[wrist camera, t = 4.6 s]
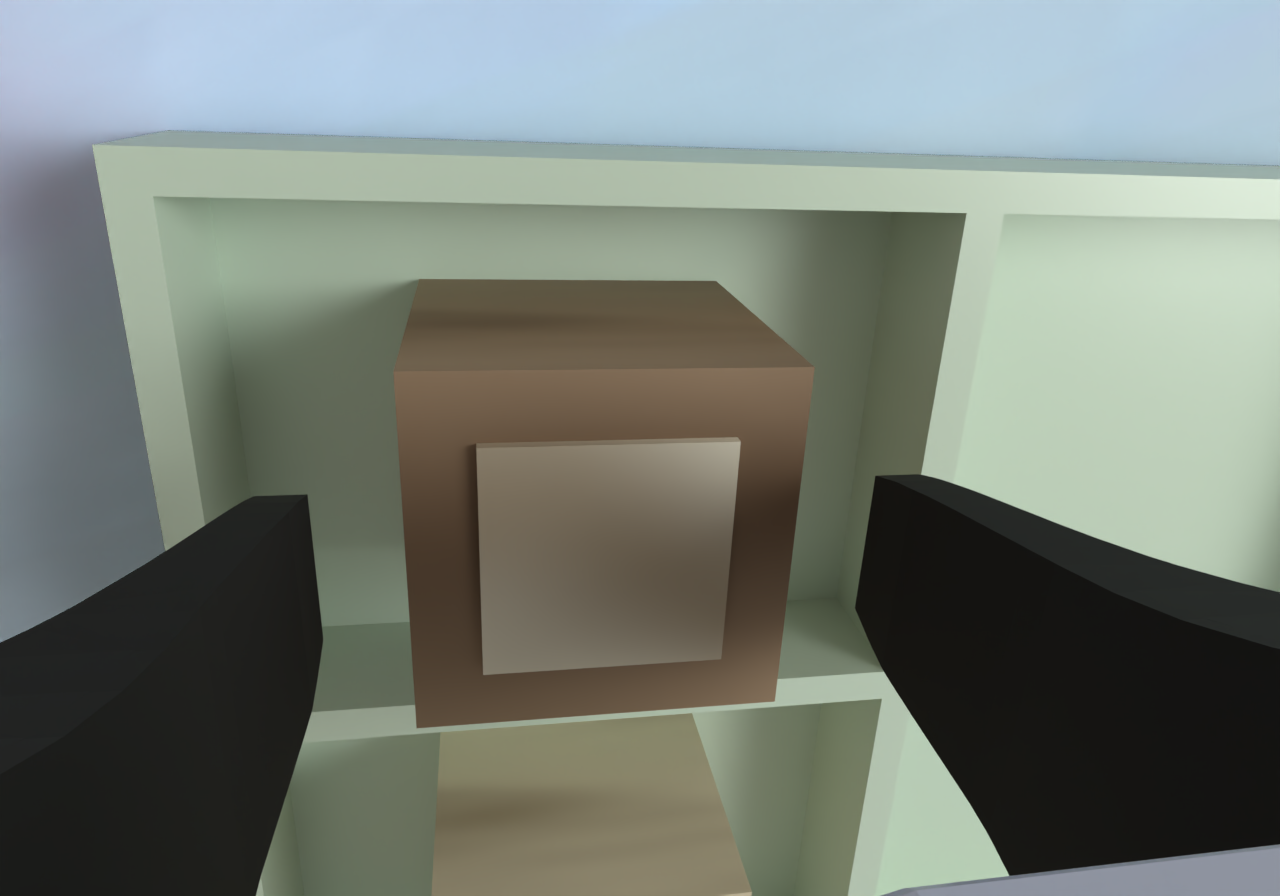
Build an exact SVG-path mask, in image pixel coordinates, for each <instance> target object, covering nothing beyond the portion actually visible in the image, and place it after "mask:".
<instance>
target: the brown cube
mask: <svg viewBox="0 0 1280 896" xmlns="http://www.w3.org/2000/svg"><path fill="white" fill-rule="evenodd" d="M814 370H815V367H814V366H813V365H812V364H811V363H809V362H808V361H807V360H806V359H805V358H804V357H803V356H801V355H800V354H799V353H798V352H797V351H796V350H795V349H793V348H792V347H791V346H790V345H789V344H788V343H787V342H785V341H784V340H783V339H782V338H781V337H780V336H779V335H777V334H776V333H775V332H774V331H773V330H772V329H771V328H769V327H768V326H767V325H766V324H765V323H764V322H763V321H761V320H760V319H759V318H758V317H757V316H756V315H755V314H753V313H752V312H751V311H750V310H749V309H748V308H747V307H745V306H744V305H743V304H742V303H741V302H740V301H739V300H737V299H736V298H735V297H734V296H733V295H732V294H731V293H729V292H728V291H727V290H726V289H725V288H724V287H722V286H721V285H720V284H719V283H718V282H717V281H655V280H502V279H419V281H418V285H417V288H416V292H415V296H414V299H413V303H412V306H411V310H410V313H409V317H408V321H407V324H406V328H405V331H404V335H403V339H402V342H401V346H400V349H399V353H398V356H397V360H396V364H395V367H394V371H393V375H394V390H395V405H396V421H397V436H398V451H399V467H400V482H401V497H402V513H403V528H404V543H405V559H406V574H407V589H408V605H409V620H410V635H411V650H412V666H413V681H414V696H415V712H416V727H417V728H429V727H442V726H455V725H469V724H482V723H495V722H509V721H522V720H535V719H549V718H562V717H575V716H588V715H602V714H615V713H628V712H642V711H655V710H668V709H682V708H695V707H708V706H722V705H735V704H748V703H762V702H775V696H776V687H777V679H778V671H779V662H780V654H781V646H782V637H783V629H784V621H785V612H786V604H787V595H788V587H789V579H790V570H791V562H792V554H793V545H794V537H795V529H796V520H797V512H798V504H799V495H800V487H801V478H802V470H803V462H804V453H805V445H806V437H807V428H808V420H809V412H810V403H811V395H812V387H813V378H814Z"/></svg>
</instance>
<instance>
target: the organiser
mask: <svg viewBox="0 0 1280 896" xmlns="http://www.w3.org/2000/svg"><path fill="white" fill-rule="evenodd" d="M92 147H93V153H94V158H95V164H96V169H97V175H98V180H99V186H100V192H101V197H102V203H103V208H104V214H105V219H106V225H107V231H108V236H109V242H110V247H111V253H112V258H113V264H114V270H115V275H116V281H117V286H118V292H119V297H120V303H121V308H122V314H123V320H124V325H125V331H126V336H127V342H128V347H129V353H130V359H131V364H132V370H133V375H134V381H135V386H136V392H137V397H138V403H139V409H140V414H141V420H142V425H143V431H144V436H145V442H146V448H147V453H148V459H149V464H150V470H151V475H152V481H153V487H154V492H155V498H156V503H157V509H158V514H159V520H160V525H161V531H162V537H163V542H164V548H165V551H167V550H168V549H170V548H171V547H173V546H174V545H176V544H177V543H179V542H180V541H182V540H184V539H185V538H187V537H188V536H190V535H191V534H193V533H194V532H196V531H197V530H199V529H200V528H202V527H203V526H205V525H206V524H208V523H209V522H211V521H212V520H214V519H215V518H217V517H218V516H220V515H222V514H223V513H225V512H226V511H228V510H229V509H231V508H233V507H234V506H236V505H238V504H239V503H241V502H243V501H245V500H247V499H249V498H251V497H253V496H275V495H305V494H307V495H308V504H309V513H310V522H311V531H312V540H313V549H314V558H315V568H316V577H317V586H318V595H319V604H320V613H321V622H322V631H323V646H322V653H321V659H320V666H319V673H318V680H317V685H316V691H315V697H314V703H313V709H312V713H311V716H310V719H309V723H308V726H307V730H306V733H305V736H304V739H303V743H302V746H301V749H300V752H299V756H298V759H297V762H296V766H295V769H294V772H293V775H292V778H291V781H290V785H289V788H288V791H287V794H286V797H285V801H284V804H283V807H282V810H281V813H280V817H279V820H278V823H277V826H276V829H275V832H274V836H273V839H272V842H271V845H270V848H269V852H268V855H267V858H266V861H265V864H264V868H263V871H262V874H261V878H260V881H259V885H258V889H257V893H256V896H431V894H432V876H433V858H434V840H435V822H436V804H437V785H438V767H439V749H440V732H451V731H464V730H478V729H491V728H504V727H517V726H530V725H543V724H556V723H570V722H583V721H596V720H609V719H622V718H635V717H648V716H661V715H675V714H688V713H692V715H693V718H694V720H695V723H696V726H697V729H698V732H699V735H700V738H701V741H702V744H703V747H704V750H705V753H706V756H707V759H708V762H709V765H710V768H711V771H712V774H713V777H714V780H715V783H716V786H717V789H718V792H719V795H720V798H721V801H722V804H723V807H724V810H725V813H726V816H727V819H728V822H729V825H730V828H731V831H732V834H733V837H734V840H735V843H736V846H737V849H738V852H739V855H740V858H741V861H742V864H743V867H744V870H745V873H746V876H747V879H748V881H749V884H750V887H751V890H752V896H881V895H884V894H887V893H890V892H894V891H897V890H900V889H903V888H911V887H919V886H928V885H937V884H945V883H954V882H962V881H971V880H979V879H988V878H996V877H1005V876H1009V874H1008V872H1007V870H1006V868H1005V866H1004V864H1003V863H1002V861H1001V859H1000V857H999V855H998V853H997V851H996V849H995V847H994V845H993V843H992V841H991V839H990V837H989V835H988V834H987V832H986V830H985V829H984V827H983V825H982V823H981V822H980V820H979V818H978V817H977V815H976V813H975V812H974V810H973V808H972V807H971V805H970V803H969V802H968V800H967V799H966V797H965V796H964V794H963V793H962V791H961V790H960V788H959V787H958V785H957V784H956V782H955V781H954V779H953V777H952V776H951V774H950V773H949V771H948V770H947V768H946V767H945V765H944V764H943V762H942V761H941V759H940V758H939V756H938V755H937V753H936V752H935V750H934V749H933V747H932V746H931V744H930V743H929V741H928V740H927V738H926V736H925V735H924V733H923V732H922V730H921V729H920V727H919V726H918V724H917V723H916V721H915V720H914V718H913V717H912V715H911V714H910V712H909V711H908V709H907V707H906V706H905V704H904V703H903V701H902V700H901V698H900V697H899V695H898V693H897V692H896V690H895V689H894V687H893V686H892V684H891V682H890V681H889V679H888V678H887V676H886V674H885V673H884V671H883V669H882V668H881V666H880V663H879V661H878V659H877V657H876V655H875V653H874V651H873V649H872V647H871V645H870V642H869V640H868V638H867V636H866V633H865V631H864V628H863V626H862V624H861V621H860V619H859V617H858V614H857V612H856V610H855V604H856V597H857V591H858V584H859V578H860V571H861V565H862V559H863V552H864V546H865V539H866V533H867V526H868V520H869V514H870V507H871V501H872V494H873V488H874V482H875V476H879V475H909V474H920V475H925V476H929V477H934V478H937V479H941V480H944V481H947V482H950V483H953V484H956V485H959V486H962V487H965V488H968V489H970V490H973V491H976V492H978V493H981V494H984V495H986V496H989V497H991V498H994V499H996V500H999V501H1002V502H1004V503H1007V504H1009V505H1012V506H1014V507H1017V508H1019V509H1022V510H1025V511H1027V512H1030V513H1032V514H1035V515H1037V516H1040V517H1042V518H1045V519H1047V520H1050V521H1053V522H1055V523H1058V524H1060V525H1063V526H1066V527H1068V528H1071V529H1073V530H1076V531H1079V532H1081V533H1084V534H1087V535H1090V536H1092V537H1095V538H1098V539H1101V540H1103V541H1106V542H1109V543H1112V544H1115V545H1118V546H1121V547H1124V548H1126V549H1129V550H1132V551H1135V552H1138V553H1141V554H1144V555H1147V556H1150V557H1153V558H1156V559H1159V560H1162V561H1166V562H1169V563H1172V564H1175V565H1179V566H1182V567H1186V568H1189V569H1193V570H1196V571H1200V572H1204V573H1207V574H1211V575H1214V576H1218V577H1221V578H1225V579H1229V580H1232V581H1236V582H1240V583H1244V584H1248V585H1252V586H1256V587H1260V588H1264V589H1268V590H1272V591H1277V592H1280V166H1265V165H1233V164H1202V163H1171V162H1140V161H1108V160H1077V159H1046V158H1015V157H984V156H952V155H921V154H890V153H859V152H828V151H796V150H765V149H734V148H703V147H672V146H640V145H609V144H578V143H547V142H516V141H484V140H453V139H422V138H391V137H360V136H328V135H297V134H266V133H235V132H204V131H172V130H168V131H163V132H157V133H152V134H147V135H141V136H136V137H131V138H126V139H120V140H115V141H110V142H104V143H99V144H94V145H92ZM419 279H502V280H655V281H717V282H718V283H719V284H720V285H721V286H722V287H724V288H725V289H726V290H727V291H728V292H729V293H731V294H732V295H733V296H734V297H735V298H736V299H737V300H739V301H740V302H741V303H742V304H743V305H744V306H745V307H747V308H748V309H749V310H750V311H751V312H752V313H753V314H755V315H756V316H757V317H758V318H759V319H760V320H761V321H763V322H764V323H765V324H766V325H767V326H768V327H769V328H771V329H772V330H773V331H774V332H775V333H776V334H777V335H779V336H780V337H781V338H782V339H783V340H784V341H785V342H787V343H788V344H789V345H790V346H791V347H792V348H793V349H795V350H796V351H797V352H798V353H799V354H800V355H801V356H803V357H804V358H805V359H806V360H807V361H808V362H809V363H811V364H812V365H813V366H814V367H815V370H814V378H813V387H812V395H811V403H810V412H809V420H808V428H807V437H806V445H805V453H804V462H803V470H802V478H801V487H800V495H799V504H798V512H797V520H796V529H795V537H794V545H793V554H792V562H791V570H790V579H789V587H788V595H787V604H786V612H785V621H784V629H783V637H782V646H781V654H780V662H779V671H778V679H777V687H776V696H775V702H762V703H748V704H735V705H722V706H708V707H695V708H682V709H668V710H655V711H642V712H628V713H615V714H602V715H588V716H575V717H562V718H549V719H535V720H522V721H509V722H495V723H482V724H469V725H455V726H442V727H429V728H417V727H416V712H415V696H414V681H413V666H412V650H411V635H410V620H409V605H408V589H407V574H406V559H405V543H404V528H403V513H402V497H401V482H400V467H399V451H398V436H397V421H396V405H395V390H394V375H393V371H394V367H395V364H396V360H397V356H398V353H399V349H400V346H401V342H402V339H403V335H404V331H405V328H406V324H407V321H408V317H409V313H410V310H411V306H412V303H413V299H414V296H415V292H416V288H417V285H418V281H419Z"/></svg>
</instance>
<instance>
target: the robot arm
mask: <svg viewBox="0 0 1280 896" xmlns="http://www.w3.org/2000/svg"><path fill="white" fill-rule="evenodd" d="M855 610H856V612H857V614H858V617H859V619H860V621H861V624H862V626H863V628H864V631H865V633H866V636H867V638H868V640H869V642H870V645H871V647H872V649H873V651H874V653H875V655H876V657H877V659H878V661H879V663H880V666H881V668H882V669H883V671H884V673H885V674H886V676H887V678H888V679H889V681H890V682H891V684H892V686H893V687H894V689H895V690H896V692H897V693H898V695H899V697H900V698H901V700H902V701H903V703H904V704H905V706H906V707H907V709H908V711H909V712H910V714H911V715H912V717H913V718H914V720H915V721H916V723H917V724H918V726H919V727H920V729H921V730H922V732H923V733H924V735H925V736H926V738H927V740H928V741H929V743H930V744H931V746H932V747H933V749H934V750H935V752H936V753H937V755H938V756H939V758H940V759H941V761H942V762H943V764H944V765H945V767H946V768H947V770H948V771H949V773H950V774H951V776H952V777H953V779H954V781H955V782H956V784H957V785H958V787H959V788H960V790H961V791H962V793H963V794H964V796H965V797H966V799H967V800H968V802H969V803H970V805H971V807H972V808H973V810H974V812H975V813H976V815H977V817H978V818H979V820H980V822H981V823H982V825H983V827H984V829H985V830H986V832H987V834H988V835H989V837H990V839H991V841H992V843H993V845H994V847H995V849H996V851H997V853H998V855H999V857H1000V859H1001V861H1002V863H1003V864H1004V866H1005V868H1006V870H1007V872H1008V874H1009V876H1005V877H996V878H988V879H979V880H971V881H962V882H954V883H945V884H937V885H928V886H919V887H911V888H903V889H900V890H897V891H894V892H890V893H887V894H884V895H881V896H1280V592H1277V591H1272V590H1268V589H1264V588H1260V587H1256V586H1252V585H1248V584H1244V583H1240V582H1236V581H1232V580H1229V579H1225V578H1221V577H1218V576H1214V575H1211V574H1207V573H1204V572H1200V571H1196V570H1193V569H1189V568H1186V567H1182V566H1179V565H1175V564H1172V563H1169V562H1166V561H1162V560H1159V559H1156V558H1153V557H1150V556H1147V555H1144V554H1141V553H1138V552H1135V551H1132V550H1129V549H1126V548H1124V547H1121V546H1118V545H1115V544H1112V543H1109V542H1106V541H1103V540H1101V539H1098V538H1095V537H1092V536H1090V535H1087V534H1084V533H1081V532H1079V531H1076V530H1073V529H1071V528H1068V527H1066V526H1063V525H1060V524H1058V523H1055V522H1053V521H1050V520H1047V519H1045V518H1042V517H1040V516H1037V515H1035V514H1032V513H1030V512H1027V511H1025V510H1022V509H1019V508H1017V507H1014V506H1012V505H1009V504H1007V503H1004V502H1002V501H999V500H996V499H994V498H991V497H989V496H986V495H984V494H981V493H978V492H976V491H973V490H970V489H968V488H965V487H962V486H959V485H956V484H953V483H950V482H947V481H944V480H941V479H937V478H934V477H929V476H925V475H920V474H909V475H879V476H875V482H874V488H873V494H872V501H871V507H870V514H869V520H868V526H867V533H866V539H865V546H864V552H863V559H862V565H861V571H860V578H859V584H858V591H857V597H856V604H855ZM322 646H323V631H322V622H321V613H320V604H319V595H318V586H317V577H316V568H315V558H314V549H313V540H312V531H311V522H310V513H309V504H308V495H307V494H305V495H275V496H253V497H251V498H249V499H247V500H245V501H243V502H241V503H239V504H238V505H236V506H234V507H233V508H231V509H229V510H228V511H226V512H225V513H223V514H222V515H220V516H218V517H217V518H215V519H214V520H212V521H211V522H209V523H208V524H206V525H205V526H203V527H202V528H200V529H199V530H197V531H196V532H194V533H193V534H191V535H190V536H188V537H187V538H185V539H184V540H182V541H180V542H179V543H177V544H176V545H174V546H173V547H171V548H170V549H168V550H167V551H165V552H164V553H162V554H161V555H159V556H157V557H156V558H154V559H153V560H151V561H150V562H148V563H147V564H145V565H143V566H142V567H140V568H138V569H136V570H135V571H133V572H131V573H130V574H128V575H126V576H125V577H123V578H121V579H119V580H118V581H116V582H114V583H113V584H111V585H109V586H108V587H106V588H104V589H102V590H101V591H99V592H97V593H96V594H94V595H92V596H91V597H89V598H87V599H85V600H84V601H82V602H80V603H79V604H77V605H75V606H73V607H71V608H70V609H68V610H66V611H64V612H62V613H60V614H58V615H56V616H54V617H53V618H51V619H49V620H47V621H45V622H43V623H41V624H39V625H37V626H35V627H33V628H31V629H29V630H27V631H25V632H22V633H20V634H18V635H16V636H14V637H12V638H10V639H8V640H5V641H3V642H1V643H0V896H256V893H257V889H258V885H259V881H260V878H261V874H262V871H263V868H264V864H265V861H266V858H267V855H268V852H269V848H270V845H271V842H272V839H273V836H274V832H275V829H276V826H277V823H278V820H279V817H280V813H281V810H282V807H283V804H284V801H285V797H286V794H287V791H288V788H289V785H290V781H291V778H292V775H293V772H294V769H295V766H296V762H297V759H298V756H299V752H300V749H301V746H302V743H303V739H304V736H305V733H306V730H307V726H308V723H309V719H310V716H311V713H312V709H313V703H314V697H315V691H316V685H317V680H318V673H319V666H320V659H321V653H322Z"/></svg>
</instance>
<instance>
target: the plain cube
mask: <svg viewBox="0 0 1280 896" xmlns="http://www.w3.org/2000/svg"><path fill="white" fill-rule="evenodd" d="M431 896H752V890H751V887H750V884H749V881H748V879H747V876H746V873H745V870H744V867H743V864H742V861H741V858H740V855H739V852H738V849H737V846H736V843H735V840H734V837H733V834H732V831H731V828H730V825H729V822H728V819H727V816H726V813H725V810H724V807H723V804H722V801H721V798H720V795H719V792H718V789H717V786H716V783H715V780H714V777H713V774H712V771H711V768H710V765H709V762H708V759H707V756H706V753H705V750H704V747H703V744H702V741H701V738H700V735H699V732H698V729H697V726H696V723H695V720H694V718H693V715H692V713H688V714H675V715H661V716H648V717H635V718H622V719H609V720H596V721H583V722H570V723H556V724H543V725H530V726H517V727H504V728H491V729H478V730H464V731H451V732H440V749H439V767H438V785H437V804H436V822H435V840H434V858H433V876H432V894H431Z"/></svg>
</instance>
